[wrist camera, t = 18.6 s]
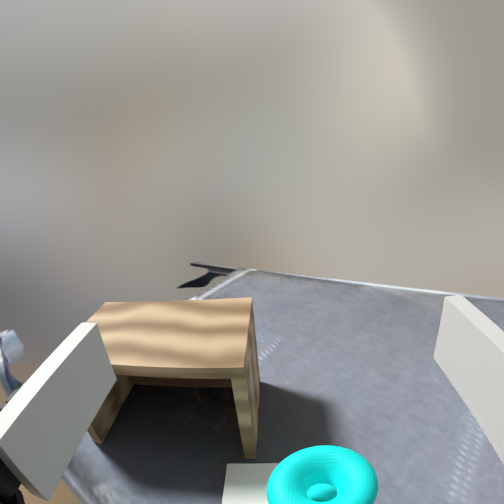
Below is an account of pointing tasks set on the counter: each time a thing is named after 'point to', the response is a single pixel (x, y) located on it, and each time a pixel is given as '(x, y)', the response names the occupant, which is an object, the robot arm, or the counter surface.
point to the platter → (247, 483)
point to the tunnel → (182, 354)
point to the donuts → (323, 478)
